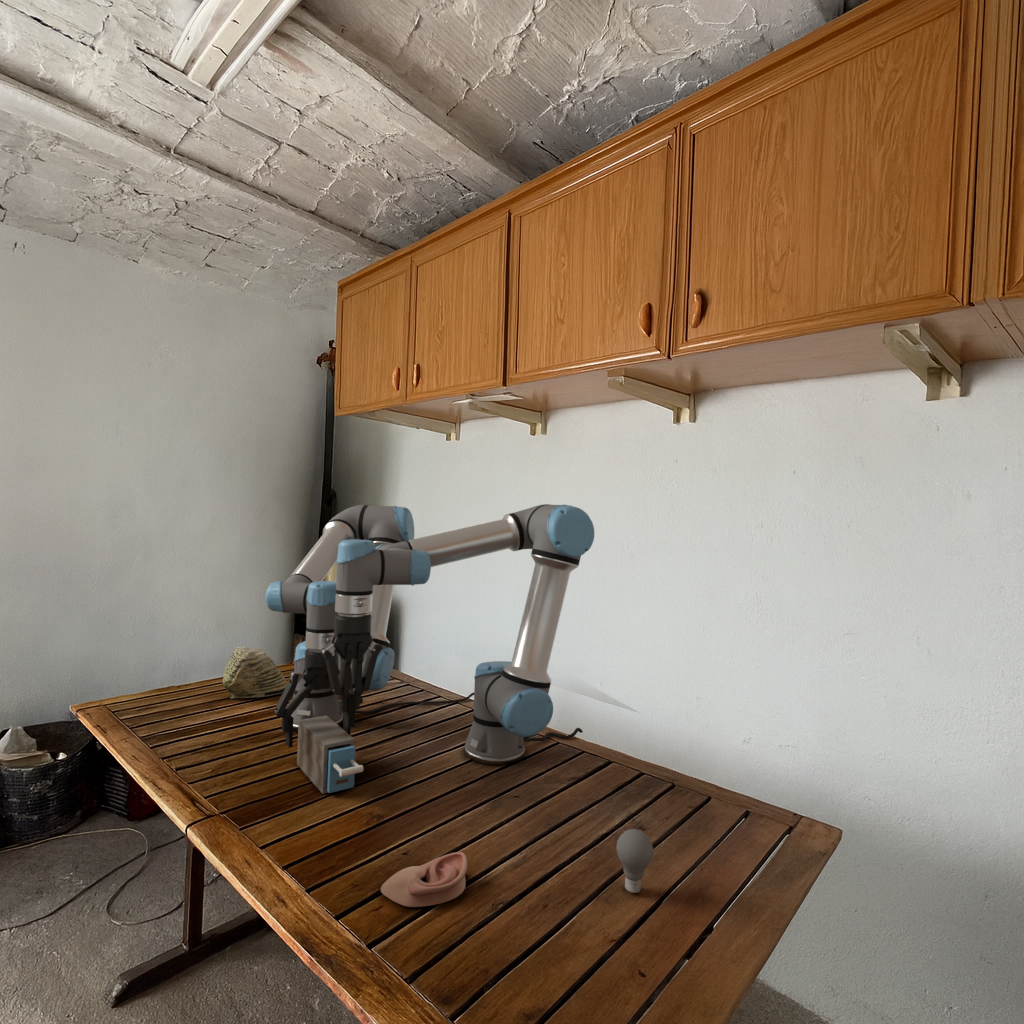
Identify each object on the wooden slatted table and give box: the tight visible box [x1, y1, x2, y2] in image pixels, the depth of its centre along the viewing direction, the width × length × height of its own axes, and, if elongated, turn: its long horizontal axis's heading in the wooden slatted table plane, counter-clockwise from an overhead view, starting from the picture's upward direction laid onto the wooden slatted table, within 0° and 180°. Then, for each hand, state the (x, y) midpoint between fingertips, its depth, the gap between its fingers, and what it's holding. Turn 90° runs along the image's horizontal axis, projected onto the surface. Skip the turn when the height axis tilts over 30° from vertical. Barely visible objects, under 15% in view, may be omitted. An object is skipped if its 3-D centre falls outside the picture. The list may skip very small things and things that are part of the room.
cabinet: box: [296, 715, 355, 795], centre depth 144 cm, size 17×7×10 cm, turn 36°
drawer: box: [327, 744, 364, 794], centre depth 140 cm, size 22×6×9 cm, turn 36°
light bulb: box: [615, 828, 654, 894], centre depth 106 cm, size 6×6×10 cm
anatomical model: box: [380, 851, 468, 908], centre depth 104 cm, size 13×4×12 cm
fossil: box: [222, 646, 287, 699], centre depth 198 cm, size 9×18×15 cm, turn 132°
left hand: (318, 739), depth 147 cm, fingers open, 13 cm apart
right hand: (349, 725), depth 133 cm, fingers closed
